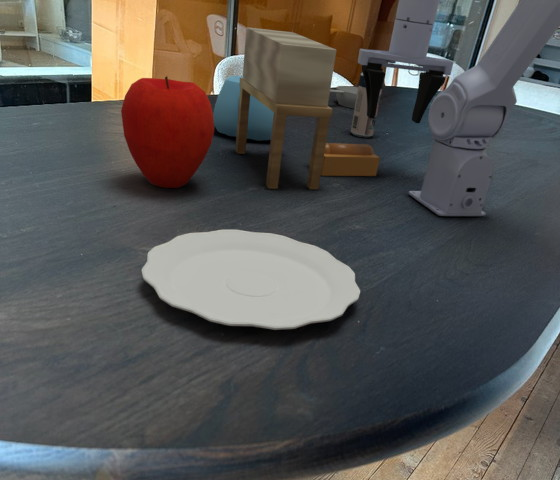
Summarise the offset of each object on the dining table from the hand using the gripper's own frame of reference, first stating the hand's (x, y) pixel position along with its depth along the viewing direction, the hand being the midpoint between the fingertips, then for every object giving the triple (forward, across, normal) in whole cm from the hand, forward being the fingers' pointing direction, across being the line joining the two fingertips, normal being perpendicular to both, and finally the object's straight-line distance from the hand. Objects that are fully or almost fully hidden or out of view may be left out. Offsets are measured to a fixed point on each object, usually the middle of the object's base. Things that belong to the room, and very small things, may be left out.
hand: (393, 119), depth 94 cm
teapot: (+9, +21, -19) cm, 29 cm away
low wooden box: (+8, +7, +1) cm, 11 cm away
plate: (+9, +27, +44) cm, 53 cm away
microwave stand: (+8, +19, +3) cm, 21 cm away
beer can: (+9, -3, -26) cm, 28 cm away
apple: (+9, +35, +14) cm, 39 cm away
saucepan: (+9, -7, -56) cm, 57 cm away
